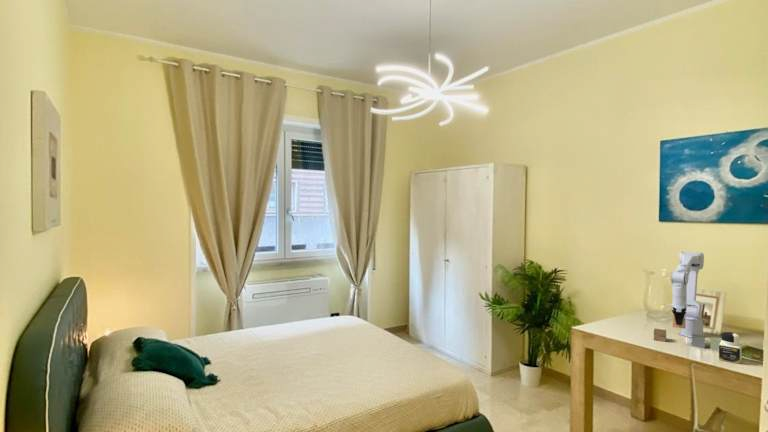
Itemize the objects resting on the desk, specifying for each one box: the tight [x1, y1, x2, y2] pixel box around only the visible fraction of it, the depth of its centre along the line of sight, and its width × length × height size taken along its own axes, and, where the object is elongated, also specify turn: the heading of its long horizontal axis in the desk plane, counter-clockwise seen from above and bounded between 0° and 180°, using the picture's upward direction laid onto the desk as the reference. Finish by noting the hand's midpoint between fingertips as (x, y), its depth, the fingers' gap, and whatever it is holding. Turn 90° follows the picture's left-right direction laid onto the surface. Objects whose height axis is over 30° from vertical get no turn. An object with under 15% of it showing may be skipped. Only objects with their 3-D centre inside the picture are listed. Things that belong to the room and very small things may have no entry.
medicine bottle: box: [718, 331, 743, 365], centre depth 182 cm, size 7×7×12 cm
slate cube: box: [691, 334, 706, 349], centre depth 201 cm, size 5×5×5 cm
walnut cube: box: [653, 328, 667, 343], centre depth 210 cm, size 5×5×5 cm
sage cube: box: [709, 336, 722, 352], centre depth 196 cm, size 5×5×5 cm
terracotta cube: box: [672, 314, 686, 329], centre depth 203 cm, size 5×5×5 cm
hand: (679, 323), depth 203 cm, fingers closed on terracotta cube, 5 cm apart
